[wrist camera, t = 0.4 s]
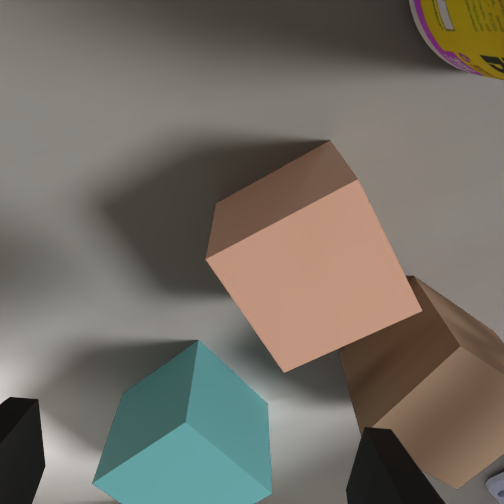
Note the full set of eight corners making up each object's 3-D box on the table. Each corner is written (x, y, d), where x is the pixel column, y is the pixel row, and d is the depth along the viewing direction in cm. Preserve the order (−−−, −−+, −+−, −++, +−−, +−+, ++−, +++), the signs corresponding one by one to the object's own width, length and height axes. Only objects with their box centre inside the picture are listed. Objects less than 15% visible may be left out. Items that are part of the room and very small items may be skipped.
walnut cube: (493, 330, 21) (558, 411, 17) (416, 399, 23) (457, 489, 19) (412, 274, 20) (460, 346, 16) (338, 352, 22) (361, 436, 17)
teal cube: (267, 402, 23) (272, 493, 19) (193, 449, 24) (180, 544, 20) (198, 338, 21) (185, 422, 17) (122, 393, 23) (92, 483, 18)
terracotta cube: (382, 245, 19) (422, 311, 15) (276, 296, 20) (283, 372, 16) (329, 140, 18) (357, 179, 13) (216, 202, 19) (205, 259, 14)
